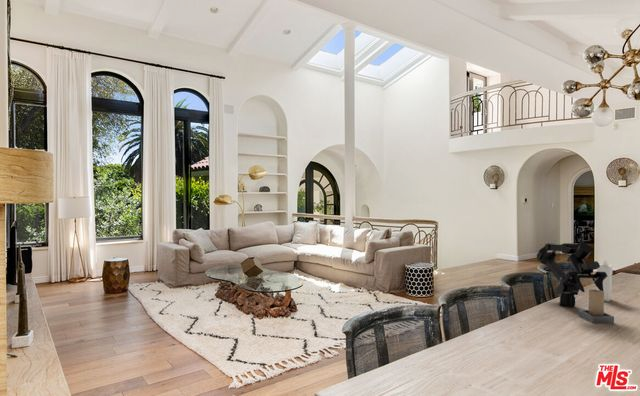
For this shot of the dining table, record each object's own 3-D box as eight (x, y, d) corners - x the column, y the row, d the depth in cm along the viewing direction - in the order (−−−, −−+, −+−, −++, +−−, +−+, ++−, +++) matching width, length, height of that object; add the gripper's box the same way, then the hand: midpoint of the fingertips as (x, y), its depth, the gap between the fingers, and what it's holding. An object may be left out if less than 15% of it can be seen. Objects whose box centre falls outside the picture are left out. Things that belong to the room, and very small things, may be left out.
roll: (589, 319, 192) (590, 291, 192) (587, 315, 198) (588, 288, 197) (604, 321, 190) (605, 293, 189) (602, 317, 195) (603, 290, 195)
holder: (578, 315, 199) (578, 309, 198) (598, 316, 199) (598, 310, 199) (592, 322, 189) (593, 316, 188) (613, 323, 189) (614, 316, 189)
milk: (611, 299, 229) (613, 260, 229) (608, 301, 225) (610, 261, 224) (598, 297, 234) (600, 258, 233) (595, 298, 230) (597, 260, 229)
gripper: (568, 255, 200) (582, 282, 190) (605, 255, 201) (621, 283, 190) (558, 267, 208) (571, 294, 198) (593, 268, 209) (608, 295, 198)
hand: (593, 291), depth 196 cm, fingers open, 9 cm apart
